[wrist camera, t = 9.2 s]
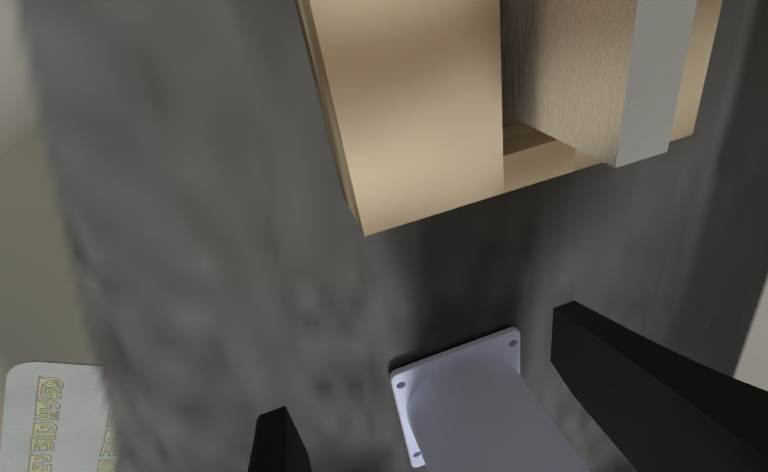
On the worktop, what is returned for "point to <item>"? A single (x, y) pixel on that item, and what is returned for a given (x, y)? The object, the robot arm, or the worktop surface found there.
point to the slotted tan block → (440, 105)
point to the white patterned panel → (55, 419)
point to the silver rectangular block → (596, 71)
